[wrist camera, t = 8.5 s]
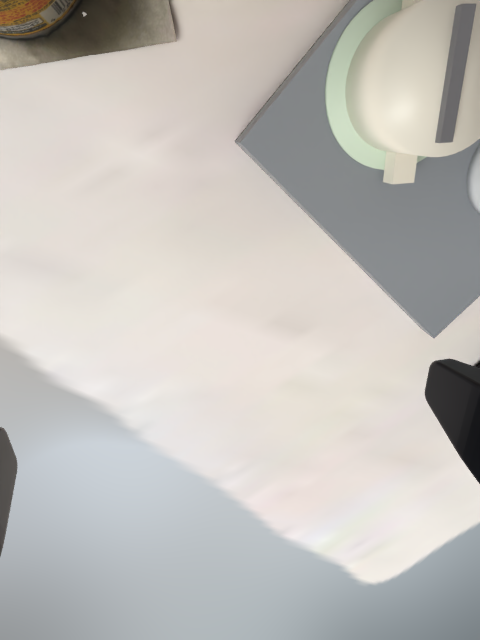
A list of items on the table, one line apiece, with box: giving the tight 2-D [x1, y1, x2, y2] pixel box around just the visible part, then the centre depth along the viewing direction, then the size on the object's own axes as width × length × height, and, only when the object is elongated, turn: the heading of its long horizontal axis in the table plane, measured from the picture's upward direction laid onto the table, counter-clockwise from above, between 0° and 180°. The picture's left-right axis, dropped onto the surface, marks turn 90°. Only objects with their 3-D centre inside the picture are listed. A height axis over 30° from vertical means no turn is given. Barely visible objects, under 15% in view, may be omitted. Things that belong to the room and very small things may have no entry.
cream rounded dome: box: [345, 0, 480, 184], centre depth 15 cm, size 7×5×3 cm
